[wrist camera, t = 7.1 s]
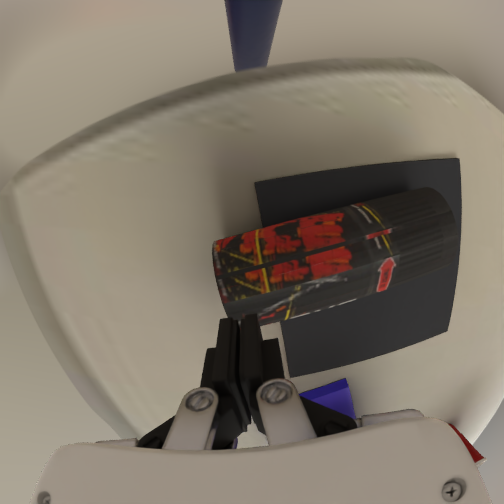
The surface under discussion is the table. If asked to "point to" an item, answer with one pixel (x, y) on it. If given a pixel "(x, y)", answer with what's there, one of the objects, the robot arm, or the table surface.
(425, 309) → the mat
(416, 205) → the deodorant
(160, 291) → the table surface
